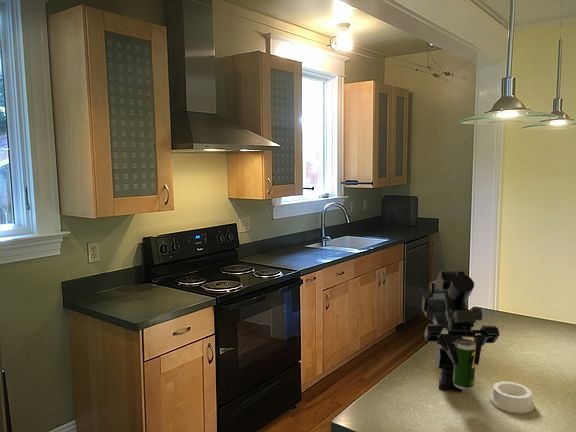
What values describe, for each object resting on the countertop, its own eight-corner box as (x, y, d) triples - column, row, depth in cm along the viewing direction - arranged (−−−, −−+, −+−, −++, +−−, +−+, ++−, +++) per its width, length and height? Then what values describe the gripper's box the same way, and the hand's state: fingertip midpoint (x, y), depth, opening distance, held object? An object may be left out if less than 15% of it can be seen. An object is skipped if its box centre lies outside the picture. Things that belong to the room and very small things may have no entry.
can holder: (488, 391, 138) (489, 378, 138) (531, 397, 134) (531, 383, 134) (490, 409, 128) (491, 395, 127) (536, 417, 124) (537, 402, 124)
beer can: (452, 388, 126) (454, 344, 124) (453, 379, 131) (454, 337, 129) (474, 391, 124) (476, 347, 122) (474, 382, 129) (476, 339, 127)
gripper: (427, 295, 129) (435, 350, 120) (499, 297, 127) (512, 353, 118) (421, 314, 138) (427, 367, 128) (488, 315, 136) (499, 369, 127)
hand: (466, 364), depth 125 cm, fingers closed on beer can, 5 cm apart
